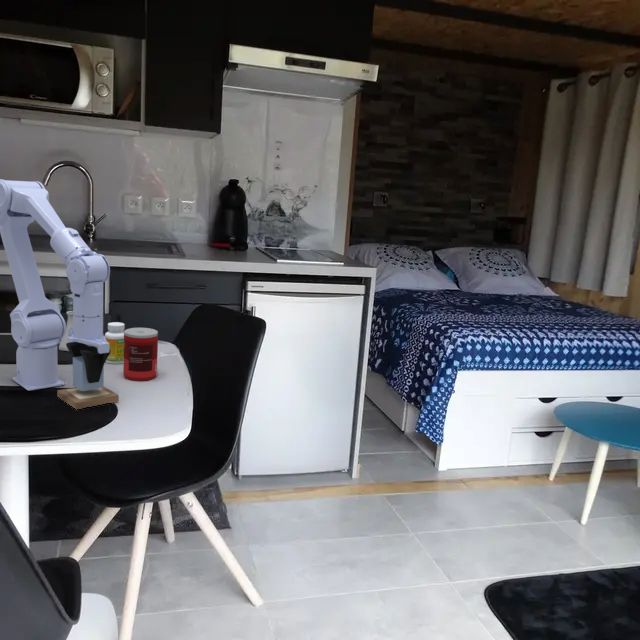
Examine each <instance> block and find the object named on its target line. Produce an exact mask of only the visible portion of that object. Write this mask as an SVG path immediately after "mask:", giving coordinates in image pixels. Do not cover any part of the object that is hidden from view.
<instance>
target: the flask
mask: <svg viewBox="0 0 640 640" xmlns="http://www.w3.org/2000/svg"><path fill="white" fill-rule="evenodd" d="M66 315H67V320H66V332H65V335H64V336H63V338H61V339H60V343H59V344H58V350H59V351H65V352H70V351H69V349H68V348H67V346H66V343H69V342H70V341H68V340H67V337H68V329H71V328H73V310H68V311H66Z"/></svg>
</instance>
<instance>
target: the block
mask: <svg viewBox="0 0 640 640" xmlns="http://www.w3.org/2000/svg"><path fill="white" fill-rule="evenodd" d="M104 369H105V368H104V366H103V369H102V373H101V377H100V380H99V382H95V383H88V380H87V374H86V366H85V362H84V359H83V357H82V356H80V357H73V358H72V386H73V387H76V388H78V389H80V390H81V391H87V390H93V389H99V388H103V386H104V381H105V380H104V373H105V372H104Z"/></svg>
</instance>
